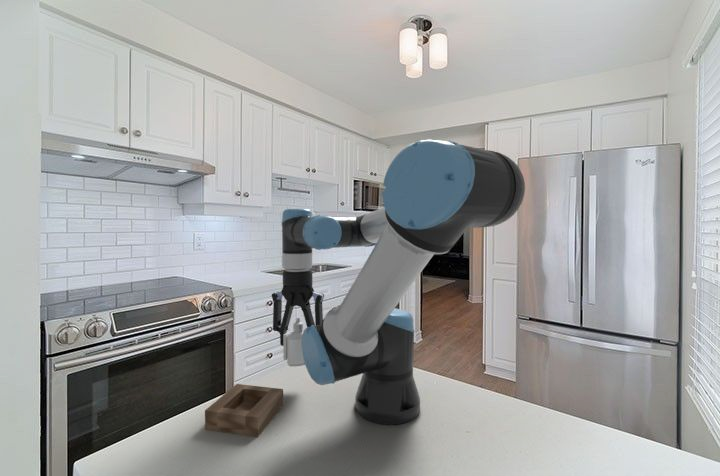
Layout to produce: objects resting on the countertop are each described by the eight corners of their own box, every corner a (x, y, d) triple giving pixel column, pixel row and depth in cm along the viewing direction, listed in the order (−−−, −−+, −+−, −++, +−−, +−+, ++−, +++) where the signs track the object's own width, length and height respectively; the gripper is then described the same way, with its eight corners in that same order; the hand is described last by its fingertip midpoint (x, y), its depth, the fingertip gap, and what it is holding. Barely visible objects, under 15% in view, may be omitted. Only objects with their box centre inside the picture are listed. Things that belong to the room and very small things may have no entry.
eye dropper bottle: (306, 367, 87) (305, 320, 86) (284, 366, 88) (284, 319, 87) (311, 361, 91) (311, 316, 91) (291, 359, 92) (290, 315, 91)
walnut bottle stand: (283, 405, 81) (283, 389, 81) (258, 436, 69) (258, 417, 69) (236, 400, 83) (236, 383, 83) (205, 429, 72) (204, 410, 72)
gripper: (336, 268, 90) (336, 356, 91) (270, 266, 94) (271, 351, 95) (327, 272, 83) (328, 367, 84) (257, 270, 87) (258, 361, 87)
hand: (298, 358), depth 89 cm, fingers closed on eye dropper bottle, 5 cm apart
